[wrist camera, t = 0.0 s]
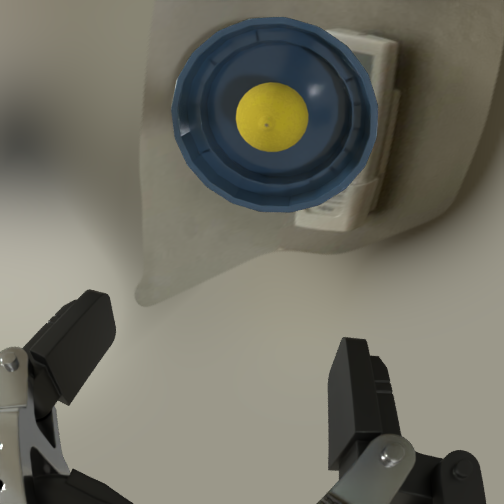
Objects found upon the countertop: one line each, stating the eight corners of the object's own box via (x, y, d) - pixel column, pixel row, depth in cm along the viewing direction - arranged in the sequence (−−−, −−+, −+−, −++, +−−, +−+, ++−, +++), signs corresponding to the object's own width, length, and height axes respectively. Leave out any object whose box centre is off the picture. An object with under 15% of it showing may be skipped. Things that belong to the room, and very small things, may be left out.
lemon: (238, 126, 27) (214, 147, 20) (258, 72, 24) (241, 72, 17) (294, 148, 27) (290, 176, 21) (317, 95, 24) (322, 103, 18)
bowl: (250, -3, 20) (239, -17, 16) (399, 98, 23) (417, 104, 19) (165, 134, 29) (142, 147, 25) (297, 219, 32) (295, 245, 28)
